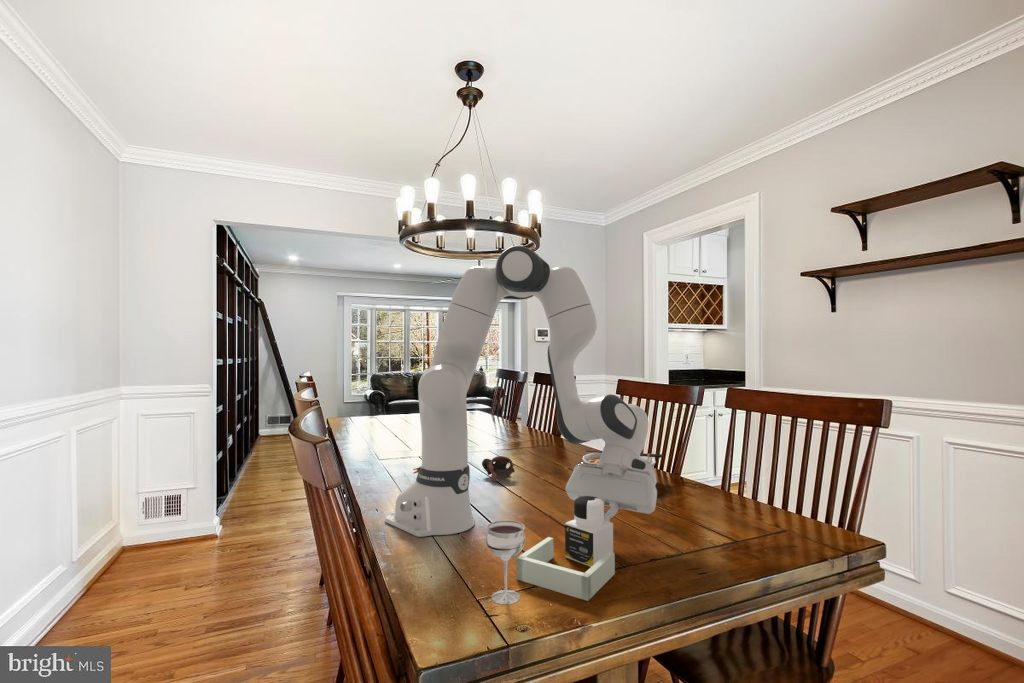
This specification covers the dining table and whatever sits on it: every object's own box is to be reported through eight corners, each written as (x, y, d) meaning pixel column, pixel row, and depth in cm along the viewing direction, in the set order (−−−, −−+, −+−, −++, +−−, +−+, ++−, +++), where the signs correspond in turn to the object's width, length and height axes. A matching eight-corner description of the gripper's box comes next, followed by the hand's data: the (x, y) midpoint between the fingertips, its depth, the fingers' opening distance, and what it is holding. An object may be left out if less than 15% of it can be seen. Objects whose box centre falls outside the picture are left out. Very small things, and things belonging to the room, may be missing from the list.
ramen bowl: (570, 487, 153) (570, 460, 153) (588, 470, 174) (588, 446, 174) (654, 496, 143) (654, 468, 143) (663, 477, 164) (663, 452, 164)
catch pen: (516, 579, 93) (516, 557, 93) (548, 556, 103) (548, 536, 103) (587, 601, 85) (587, 577, 85) (614, 574, 95) (614, 552, 95)
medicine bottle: (564, 557, 102) (564, 498, 102) (585, 547, 107) (585, 491, 107) (592, 568, 97) (592, 506, 97) (613, 557, 102) (613, 498, 102)
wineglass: (517, 610, 82) (517, 536, 82) (479, 602, 84) (479, 531, 84) (531, 591, 88) (530, 523, 88) (495, 584, 90) (495, 518, 91)
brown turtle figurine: (519, 477, 166) (520, 458, 162) (505, 496, 159) (506, 477, 155) (487, 464, 171) (487, 446, 167) (473, 483, 164) (473, 464, 159)
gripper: (572, 454, 119) (552, 506, 111) (657, 465, 108) (643, 524, 100) (580, 469, 123) (562, 520, 115) (664, 481, 112) (650, 539, 104)
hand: (600, 522), depth 107 cm, fingers closed
